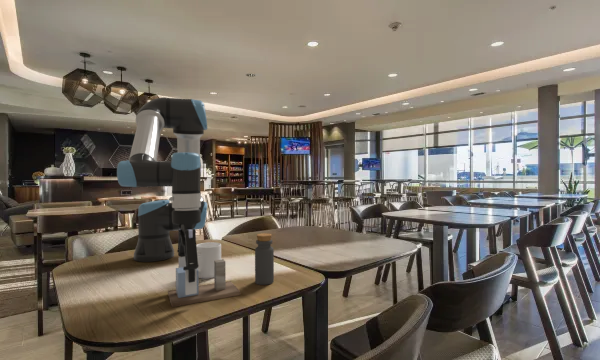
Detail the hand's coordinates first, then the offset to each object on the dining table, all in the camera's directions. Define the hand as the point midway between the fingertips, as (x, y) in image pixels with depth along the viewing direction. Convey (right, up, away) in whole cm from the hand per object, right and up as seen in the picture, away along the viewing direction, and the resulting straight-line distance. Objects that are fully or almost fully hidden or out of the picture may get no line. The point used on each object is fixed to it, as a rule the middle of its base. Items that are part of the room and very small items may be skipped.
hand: (187, 285), depth 88 cm
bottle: (+20, -3, +13) cm, 24 cm away
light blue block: (0, -2, 0) cm, 2 cm away
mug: (-1, -3, +18) cm, 19 cm away
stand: (+4, -3, +2) cm, 6 cm away
